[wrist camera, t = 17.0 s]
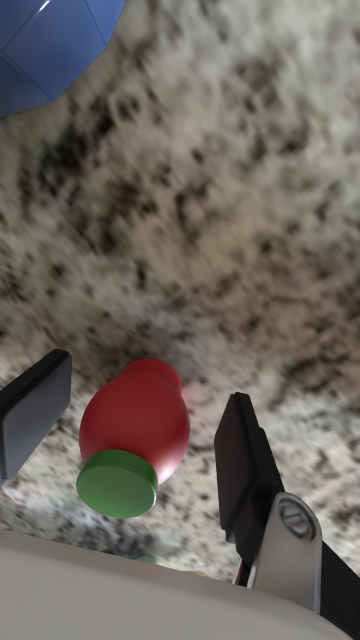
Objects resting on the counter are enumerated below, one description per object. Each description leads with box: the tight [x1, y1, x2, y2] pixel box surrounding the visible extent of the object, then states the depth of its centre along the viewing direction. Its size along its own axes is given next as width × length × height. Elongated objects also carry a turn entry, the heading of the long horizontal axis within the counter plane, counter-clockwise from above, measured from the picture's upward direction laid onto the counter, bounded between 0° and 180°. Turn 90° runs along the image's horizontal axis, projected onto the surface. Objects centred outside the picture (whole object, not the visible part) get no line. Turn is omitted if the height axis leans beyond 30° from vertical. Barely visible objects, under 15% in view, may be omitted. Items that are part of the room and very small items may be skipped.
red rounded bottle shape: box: [76, 359, 190, 518], centre depth 9 cm, size 4×4×5 cm
